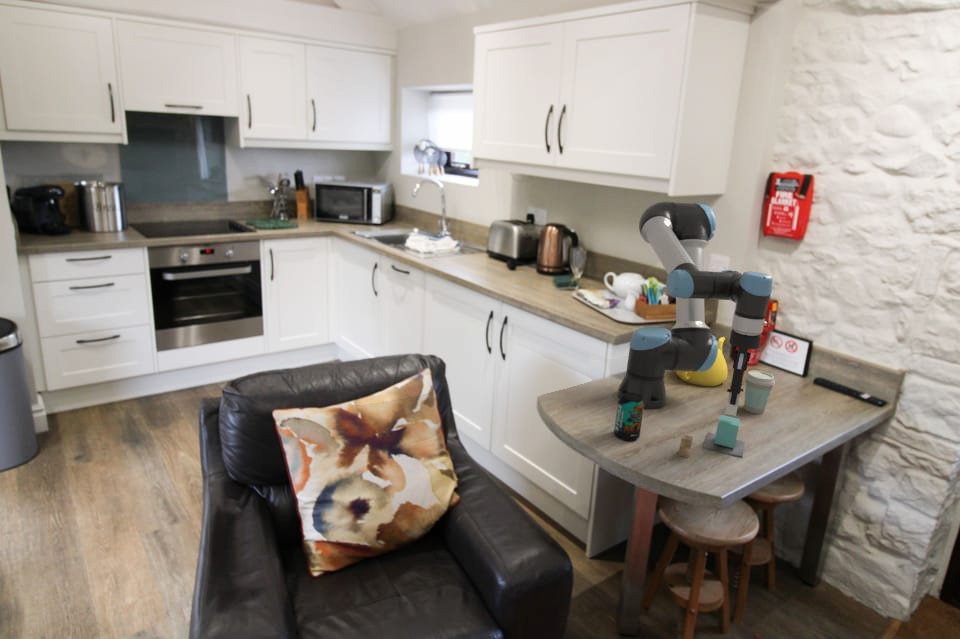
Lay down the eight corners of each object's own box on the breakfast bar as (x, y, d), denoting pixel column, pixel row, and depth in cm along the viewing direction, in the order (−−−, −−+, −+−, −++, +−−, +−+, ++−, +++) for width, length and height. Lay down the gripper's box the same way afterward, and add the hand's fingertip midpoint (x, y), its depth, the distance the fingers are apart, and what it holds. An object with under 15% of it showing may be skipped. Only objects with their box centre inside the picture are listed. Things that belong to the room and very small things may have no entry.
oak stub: (678, 455, 166) (681, 438, 164) (679, 451, 168) (682, 434, 167) (688, 457, 165) (691, 440, 163) (689, 453, 167) (692, 436, 166)
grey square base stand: (703, 447, 171) (707, 424, 169) (707, 433, 180) (711, 411, 178) (742, 457, 167) (747, 434, 165) (744, 442, 176) (749, 420, 174)
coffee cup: (771, 417, 194) (779, 381, 191) (742, 413, 195) (749, 377, 192) (764, 406, 202) (772, 371, 199) (737, 402, 204) (744, 368, 200)
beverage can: (639, 443, 171) (646, 403, 167) (613, 440, 172) (619, 399, 168) (638, 432, 177) (644, 393, 174) (613, 428, 178) (618, 390, 175)
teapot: (696, 363, 238) (703, 329, 234) (741, 378, 226) (748, 343, 222) (660, 376, 222) (666, 340, 218) (706, 393, 209) (713, 355, 205)
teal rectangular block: (714, 443, 172) (718, 421, 170) (716, 436, 176) (720, 414, 174) (734, 448, 170) (738, 426, 168) (735, 440, 174) (740, 419, 172)
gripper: (761, 340, 157) (743, 426, 163) (763, 328, 168) (746, 409, 175) (729, 334, 160) (713, 419, 166) (733, 323, 171) (718, 402, 178)
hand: (730, 413), depth 170 cm, fingers closed
